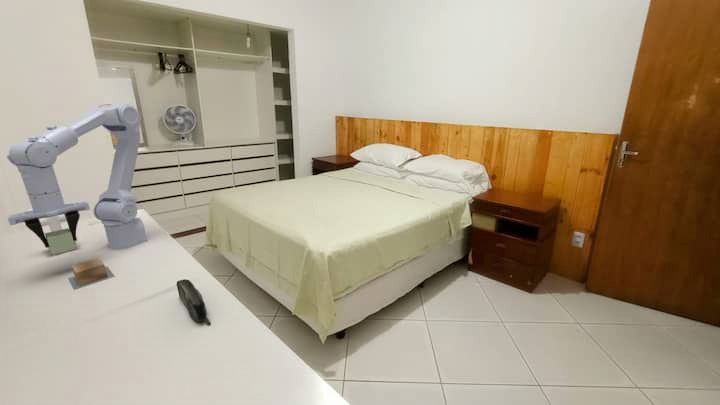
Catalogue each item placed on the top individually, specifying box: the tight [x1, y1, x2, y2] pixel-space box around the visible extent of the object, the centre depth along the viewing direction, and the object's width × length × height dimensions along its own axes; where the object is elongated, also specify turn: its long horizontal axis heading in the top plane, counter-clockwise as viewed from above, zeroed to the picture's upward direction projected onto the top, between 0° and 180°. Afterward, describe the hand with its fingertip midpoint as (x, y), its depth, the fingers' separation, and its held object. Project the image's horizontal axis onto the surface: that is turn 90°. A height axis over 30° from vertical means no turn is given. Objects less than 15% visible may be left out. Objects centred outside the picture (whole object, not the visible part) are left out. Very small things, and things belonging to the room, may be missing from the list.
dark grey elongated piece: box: [176, 279, 212, 326], centre depth 68 cm, size 5×3×15 cm
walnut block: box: [71, 257, 108, 286], centre depth 79 cm, size 6×6×4 cm
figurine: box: [27, 208, 79, 255], centre depth 96 cm, size 7×9×15 cm
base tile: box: [67, 265, 115, 291], centre depth 80 cm, size 8×8×2 cm
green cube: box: [44, 227, 77, 255], centre depth 80 cm, size 4×4×4 cm
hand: (61, 242), depth 81 cm, fingers closed on green cube, 4 cm apart
